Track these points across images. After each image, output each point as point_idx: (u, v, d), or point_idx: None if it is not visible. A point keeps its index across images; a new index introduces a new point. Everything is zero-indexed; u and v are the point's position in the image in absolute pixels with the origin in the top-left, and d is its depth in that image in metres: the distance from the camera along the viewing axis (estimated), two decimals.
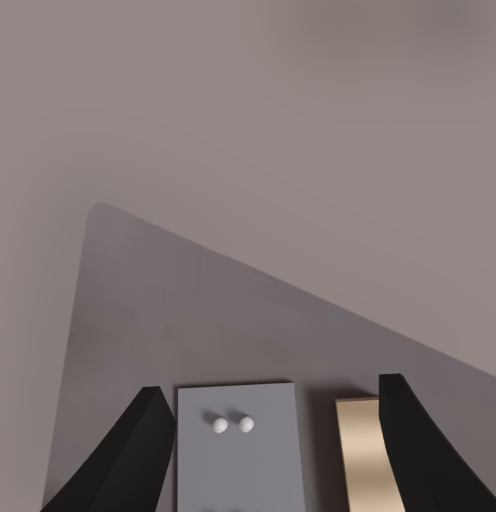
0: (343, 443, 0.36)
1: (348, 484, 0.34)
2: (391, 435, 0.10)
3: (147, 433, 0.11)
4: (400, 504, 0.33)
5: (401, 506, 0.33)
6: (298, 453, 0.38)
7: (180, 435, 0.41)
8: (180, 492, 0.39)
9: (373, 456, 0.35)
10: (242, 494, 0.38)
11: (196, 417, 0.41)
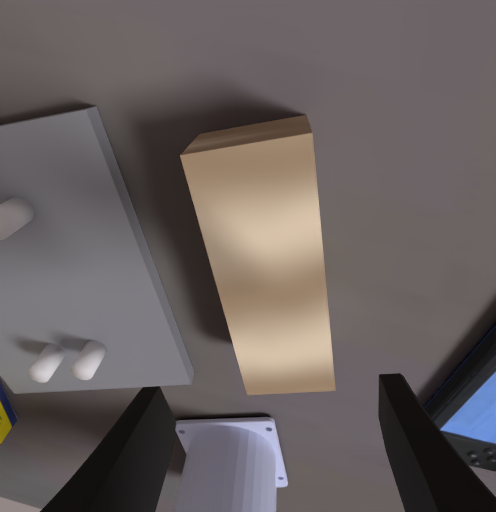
0: (208, 243, 0.15)
1: (225, 307, 0.17)
2: (391, 435, 0.10)
3: (147, 433, 0.11)
4: (322, 326, 0.17)
5: (323, 328, 0.17)
6: (137, 251, 0.19)
7: None
8: None
9: (275, 259, 0.15)
10: (62, 316, 0.22)
11: None
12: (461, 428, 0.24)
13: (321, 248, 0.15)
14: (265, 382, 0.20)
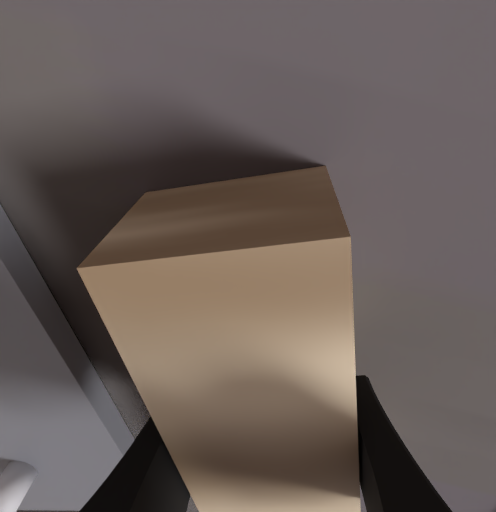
0: (149, 401, 0.09)
1: (187, 480, 0.10)
2: None
3: None
4: (348, 510, 0.10)
5: None
6: (61, 362, 0.12)
7: None
8: None
9: (270, 428, 0.09)
10: None
11: None
12: None
13: (354, 417, 0.08)
14: None
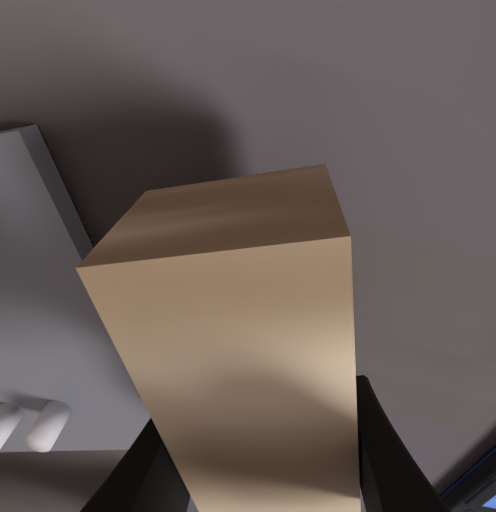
0: (149, 401, 0.08)
1: (186, 480, 0.10)
2: None
3: None
4: (348, 510, 0.10)
5: None
6: None
7: None
8: None
9: (270, 428, 0.09)
10: (14, 373, 0.18)
11: None
12: None
13: (355, 417, 0.08)
14: None
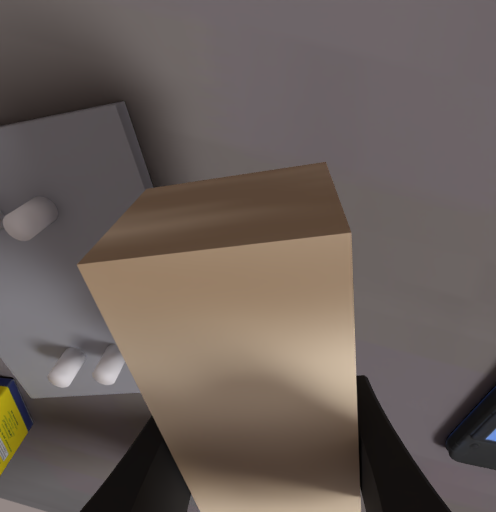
0: (149, 398, 0.09)
1: (187, 478, 0.10)
2: None
3: None
4: (348, 508, 0.10)
5: (350, 510, 0.11)
6: None
7: None
8: None
9: (270, 425, 0.09)
10: (83, 319, 0.21)
11: None
12: None
13: (355, 415, 0.08)
14: None
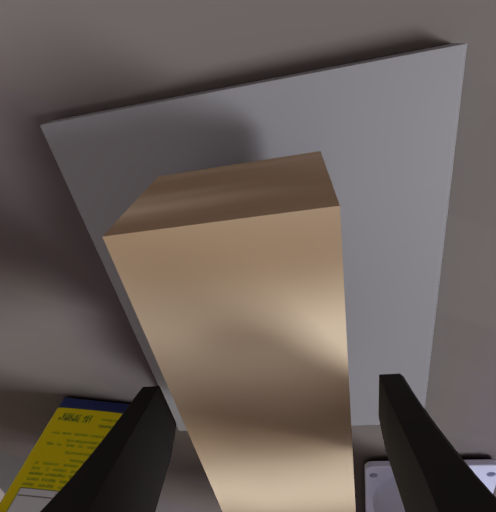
0: (162, 362, 0.10)
1: (195, 441, 0.11)
2: (391, 435, 0.10)
3: (147, 433, 0.11)
4: (342, 468, 0.11)
5: (344, 470, 0.11)
6: (437, 256, 0.14)
7: (103, 248, 0.15)
8: (148, 346, 0.18)
9: (271, 386, 0.10)
10: None
11: (132, 202, 0.14)
12: None
13: (346, 375, 0.09)
14: None
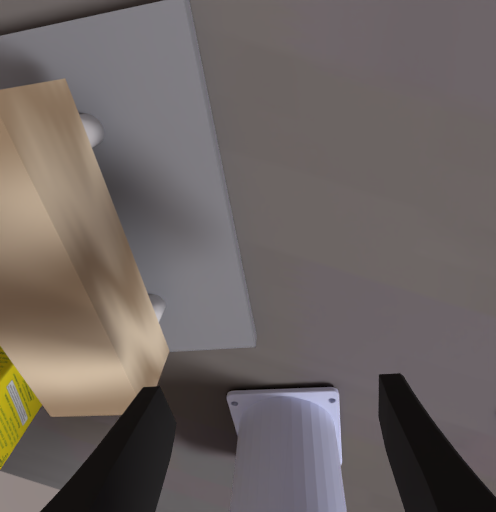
0: None
1: None
2: (391, 435, 0.10)
3: (147, 433, 0.11)
4: (101, 340, 0.14)
5: (104, 342, 0.14)
6: (218, 184, 0.17)
7: None
8: None
9: (13, 257, 0.12)
10: None
11: None
12: None
13: (62, 245, 0.12)
14: (65, 403, 0.17)
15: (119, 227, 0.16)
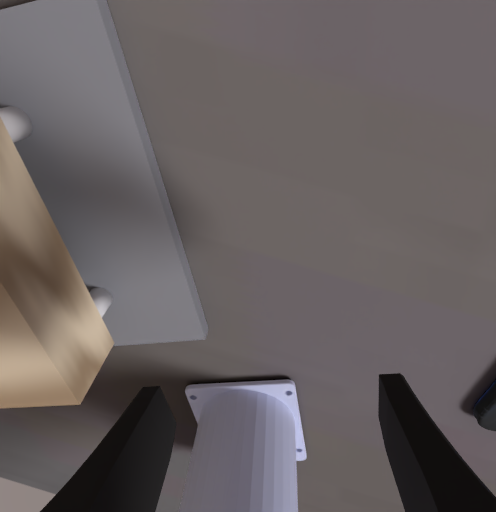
0: None
1: None
2: (391, 435, 0.10)
3: (147, 433, 0.11)
4: (22, 329, 0.14)
5: (26, 331, 0.14)
6: (149, 174, 0.17)
7: None
8: None
9: None
10: None
11: None
12: None
13: None
14: None
15: (48, 219, 0.16)
